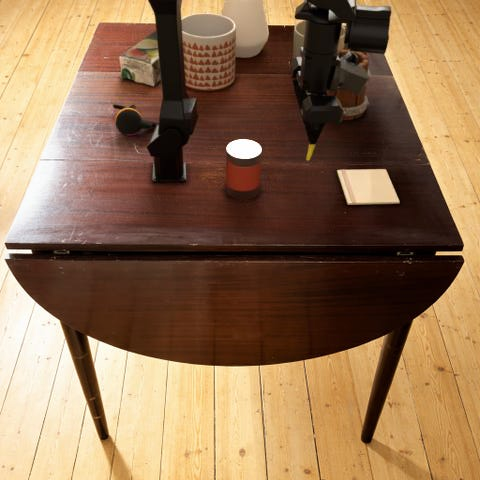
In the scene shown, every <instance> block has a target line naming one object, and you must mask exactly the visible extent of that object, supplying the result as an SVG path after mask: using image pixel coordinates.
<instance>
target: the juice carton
mask: <svg viewBox="0 0 480 480" xmlns="http://www.w3.org/2000/svg"><path fill="white" fill-rule="evenodd" d="M118 58H119V65H120V76H121V79H123V80H124V79H129V80H131V81H133V82H135V83H138V84H139V83H140V84H144V85H147V86H151V87H155V86H157V85H158V83H159V82H161V75H160V65H159V54H158V43H157V33H156V30H154V31H153V32H151V33H150V34H148V35H147V36H145V37H144V38H143V39H141V40H140V41H139V42H137V43H136V44H135V45H134V46H132V47H131V48H130V49H127V51H125V52H124V53H122V54H121V55H119V57H118Z"/></svg>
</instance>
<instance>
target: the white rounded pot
mask: <svg viewBox="0 0 480 480" xmlns="http://www.w3.org/2000/svg"><path fill="white" fill-rule="evenodd" d="M220 15H222V16H225V17H228V18H230V19H231V20H233V21H234V23H235V24H236V53H235V58H252V57H255V56H257V55H258V54H260V53H261V51H262V49H264V46H265V45H266V43H267V42H268V39H269V35H270V32H269V31H270V30H269V25H268V19H267V14H266V9H265V3H264V0H224V2H223V6H222V10H221V13H220Z"/></svg>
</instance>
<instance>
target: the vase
mask: <svg viewBox="0 0 480 480" xmlns="http://www.w3.org/2000/svg"><path fill="white" fill-rule="evenodd" d="M181 21H182V36H183V52H184V67H185V83H186V88H189V89H191V90H193V91H199V92H215V91H221V90H223V89H226V88H228V87H230V86H231V85H232V84H233V83H234V81H235V80H236V79H235V78H236V57H235V53H236V24H235V23H234V21H233V20H231V19H230V18H228V17H225V16H222V15H221V14H217V13H209V12H208V13H207V12H205V13H204V12H203V13H202V12H201V13H193V14H188V15H186V16H183V17H181Z"/></svg>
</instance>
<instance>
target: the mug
mask: <svg viewBox="0 0 480 480" xmlns="http://www.w3.org/2000/svg"><path fill="white" fill-rule="evenodd" d="M349 51H350V49H343V50H339V52H338V57H339V58H341V57H343V56H344V55H345V54H346V53H348V52H349ZM350 52H353V53H355V54H356V55H357V57H358V65H359V64H361V65H362V67H363V68H364V69H365V70H366V72H367V74H368V77H369V79H368V81H367V83H366V85H365V87H364V88H363V90H362V92H361V94H360V95H355V94H354V93H353V92H350V91H348V90H345V89H342V88H340V87H338V91H330V90H328V91H327V92H328V95H329V96H336V97H337V98H338V99H339V101H340V103H341V105H342V108H343V110H344V112H343V118H342V121H352V120H354V119H358V118H360V117H362V116H363V114H364V113H365V111H366V110H367V107H368V106H369V105H370V102H369V101H368V100H369V98H368V96H367V95H366V89H367V88H366V87H367V85H368V84H369V83H370V80H371V79H372V74H371V71H370V69H369V63H370V59H369V57H368V53H366V52H355V51H350Z"/></svg>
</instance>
